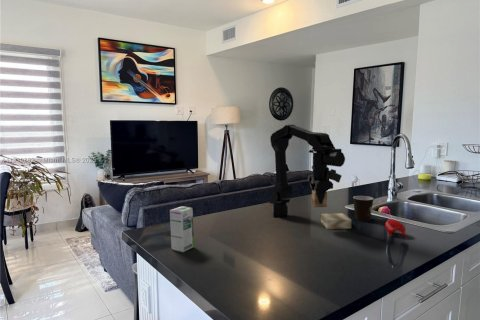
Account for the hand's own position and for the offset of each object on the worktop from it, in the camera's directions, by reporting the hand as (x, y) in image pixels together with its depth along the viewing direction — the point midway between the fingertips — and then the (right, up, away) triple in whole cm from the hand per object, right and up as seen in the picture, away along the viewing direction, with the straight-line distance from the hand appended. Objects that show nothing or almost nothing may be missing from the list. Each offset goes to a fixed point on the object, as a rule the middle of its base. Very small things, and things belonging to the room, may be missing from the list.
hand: (319, 202), depth 134 cm
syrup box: (-53, -14, -18) cm, 58 cm away
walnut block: (0, -2, 0) cm, 2 cm away
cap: (+28, -12, -7) cm, 31 cm away
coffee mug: (+24, -10, +15) cm, 30 cm away
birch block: (+9, -11, +7) cm, 16 cm away
